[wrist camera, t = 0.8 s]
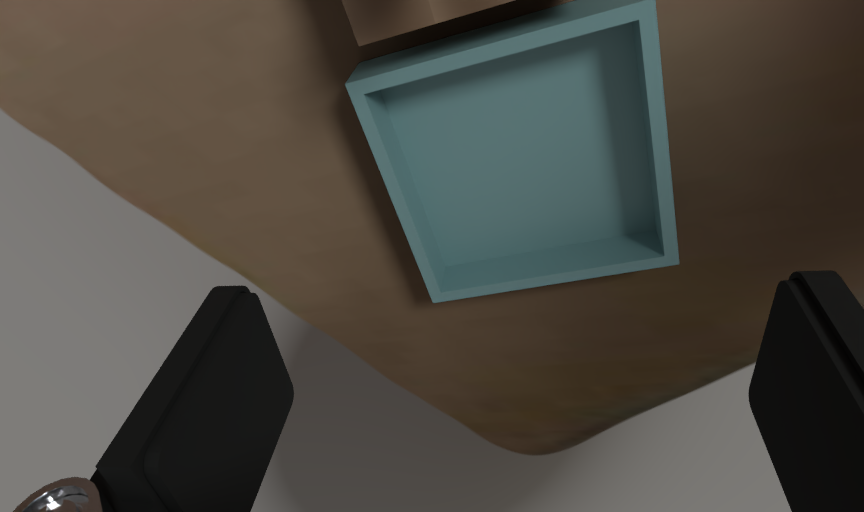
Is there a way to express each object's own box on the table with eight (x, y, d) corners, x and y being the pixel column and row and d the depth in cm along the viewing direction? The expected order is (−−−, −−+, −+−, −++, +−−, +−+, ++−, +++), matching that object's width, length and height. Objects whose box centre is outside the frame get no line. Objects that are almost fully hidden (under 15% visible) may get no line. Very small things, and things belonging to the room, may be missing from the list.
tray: (642, -19, 30) (654, -3, 27) (668, 232, 39) (679, 264, 36) (359, 62, 35) (344, 84, 32) (438, 272, 43) (433, 303, 40)
